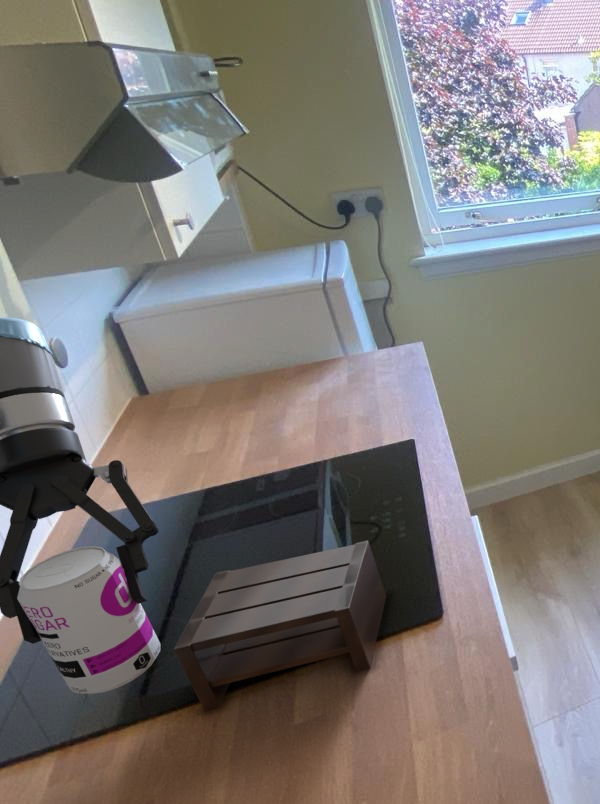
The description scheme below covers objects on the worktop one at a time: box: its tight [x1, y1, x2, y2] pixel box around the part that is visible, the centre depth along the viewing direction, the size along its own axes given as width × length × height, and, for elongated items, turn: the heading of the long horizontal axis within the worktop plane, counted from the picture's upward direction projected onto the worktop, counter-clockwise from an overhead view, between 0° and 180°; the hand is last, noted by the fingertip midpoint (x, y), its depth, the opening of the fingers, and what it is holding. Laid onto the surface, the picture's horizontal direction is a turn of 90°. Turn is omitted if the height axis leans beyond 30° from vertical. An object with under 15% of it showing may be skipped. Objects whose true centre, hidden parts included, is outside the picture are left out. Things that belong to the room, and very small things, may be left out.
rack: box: [173, 540, 387, 712], centre depth 95 cm, size 18×14×10 cm
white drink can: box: [17, 545, 161, 695], centre depth 82 cm, size 8×8×15 cm
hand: (88, 619), depth 81 cm, fingers closed on white drink can, 8 cm apart
